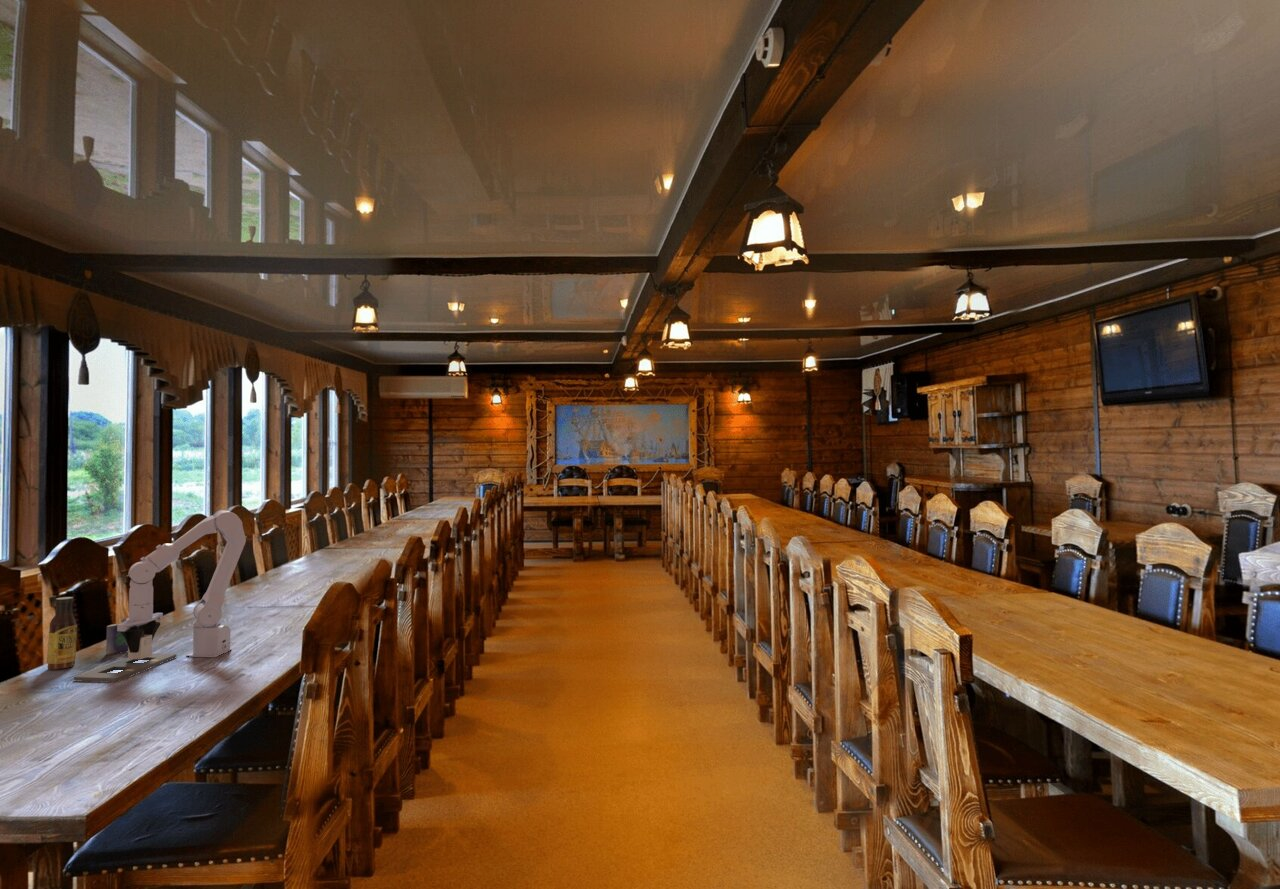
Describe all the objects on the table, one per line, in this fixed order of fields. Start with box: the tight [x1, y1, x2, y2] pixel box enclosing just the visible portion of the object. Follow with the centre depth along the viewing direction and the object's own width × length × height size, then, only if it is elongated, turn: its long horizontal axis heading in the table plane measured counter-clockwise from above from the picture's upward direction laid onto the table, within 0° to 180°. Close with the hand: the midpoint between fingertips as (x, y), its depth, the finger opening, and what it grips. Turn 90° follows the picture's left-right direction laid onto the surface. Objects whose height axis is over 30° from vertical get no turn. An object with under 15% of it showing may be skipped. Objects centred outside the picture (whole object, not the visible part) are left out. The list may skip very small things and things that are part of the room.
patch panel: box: [73, 653, 177, 683], centre depth 196 cm, size 12×22×1 cm, turn 176°
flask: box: [105, 616, 139, 656], centre depth 213 cm, size 9×3×11 cm, turn 146°
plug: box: [127, 631, 153, 659], centre depth 201 cm, size 5×4×7 cm
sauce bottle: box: [47, 596, 78, 671], centre depth 198 cm, size 6×6×20 cm
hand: (140, 650), depth 201 cm, fingers closed on plug, 4 cm apart
